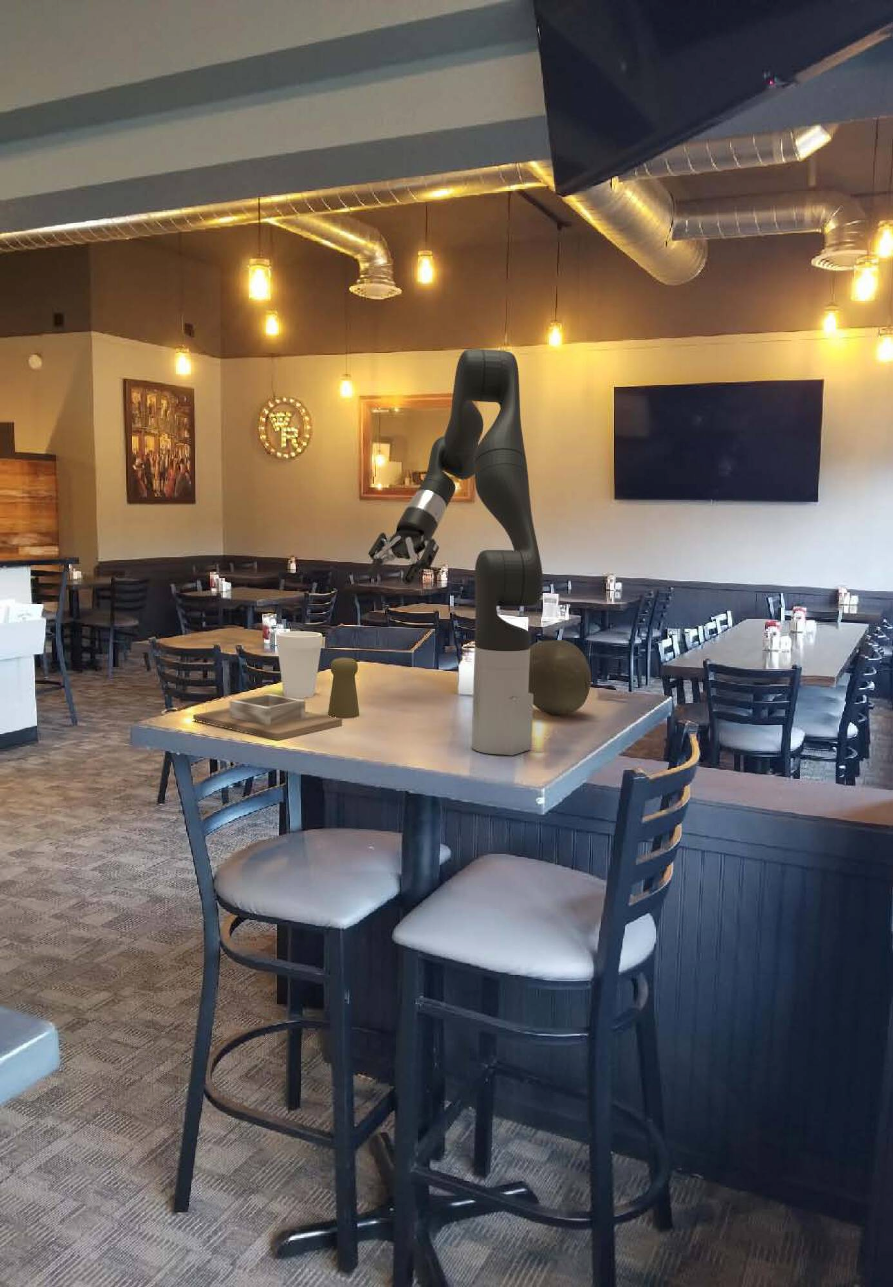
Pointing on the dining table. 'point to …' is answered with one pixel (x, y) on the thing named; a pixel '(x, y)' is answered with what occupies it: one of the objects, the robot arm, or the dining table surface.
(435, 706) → the dining table surface
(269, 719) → the brown board with dish
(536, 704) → the cantaloupe
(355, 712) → the olive pepper mill
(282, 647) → the foam cup
